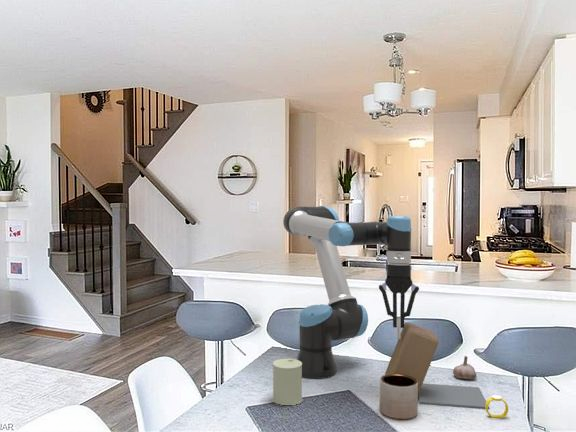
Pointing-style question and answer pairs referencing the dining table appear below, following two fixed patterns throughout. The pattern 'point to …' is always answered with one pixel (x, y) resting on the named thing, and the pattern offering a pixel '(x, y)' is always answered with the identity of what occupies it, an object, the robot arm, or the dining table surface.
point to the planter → (398, 396)
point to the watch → (496, 398)
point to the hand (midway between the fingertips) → (398, 337)
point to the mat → (451, 396)
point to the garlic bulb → (464, 371)
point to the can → (287, 381)
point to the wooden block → (413, 353)
